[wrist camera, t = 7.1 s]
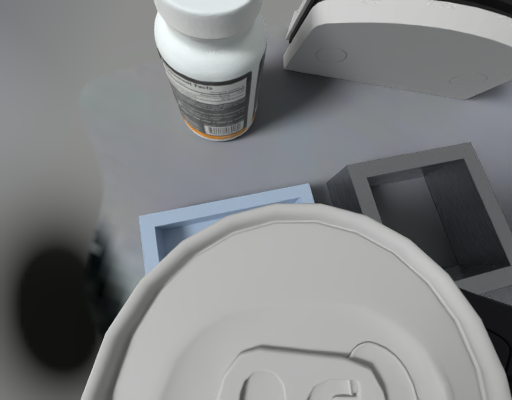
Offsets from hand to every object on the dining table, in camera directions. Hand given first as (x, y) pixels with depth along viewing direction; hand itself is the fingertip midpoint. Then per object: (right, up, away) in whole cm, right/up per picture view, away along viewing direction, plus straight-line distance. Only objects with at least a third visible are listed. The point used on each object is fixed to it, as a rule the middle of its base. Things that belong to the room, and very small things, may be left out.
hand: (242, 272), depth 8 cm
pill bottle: (-2, +9, +12) cm, 15 cm away
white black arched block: (+11, +13, +14) cm, 22 cm away
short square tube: (+11, 0, +10) cm, 15 cm away
